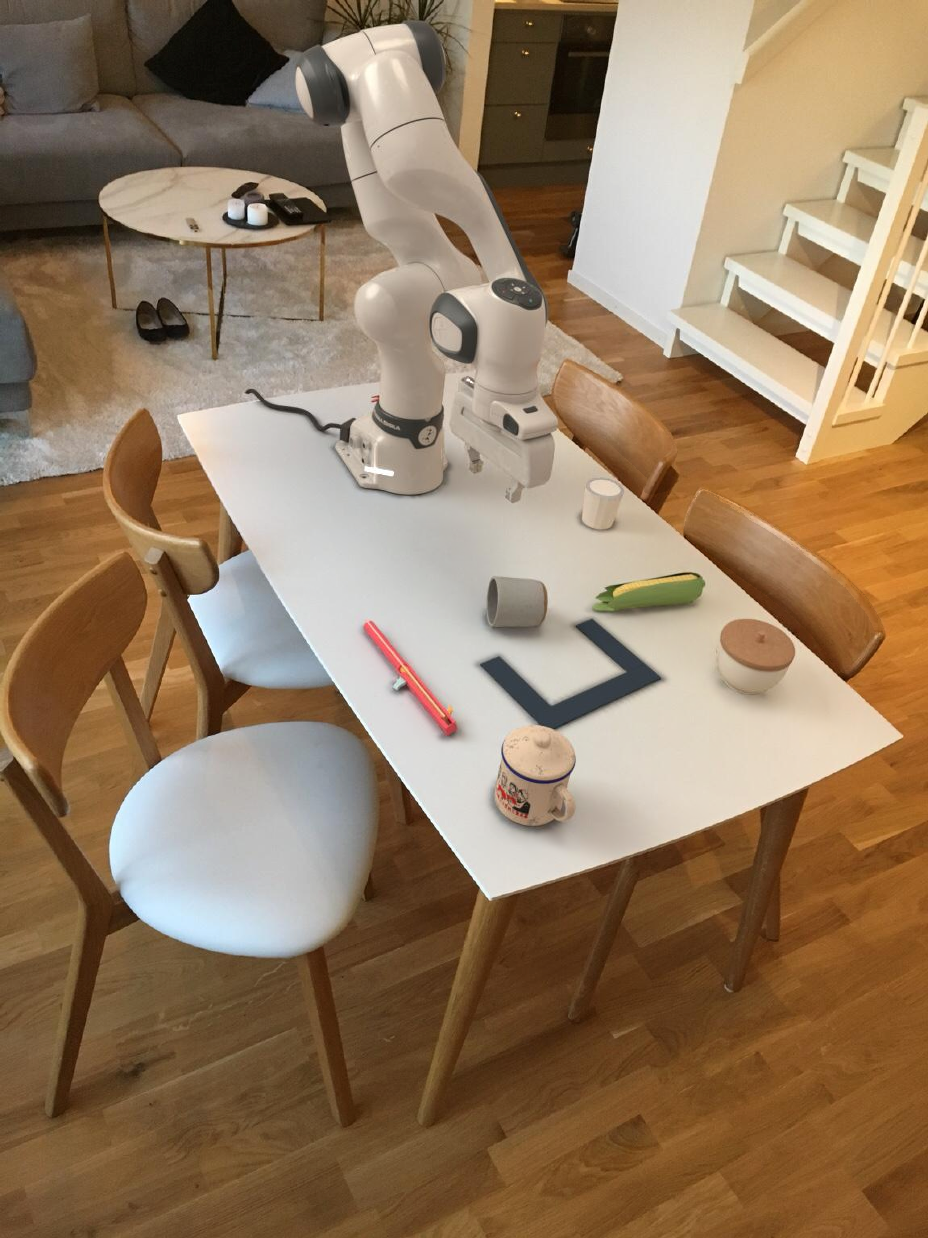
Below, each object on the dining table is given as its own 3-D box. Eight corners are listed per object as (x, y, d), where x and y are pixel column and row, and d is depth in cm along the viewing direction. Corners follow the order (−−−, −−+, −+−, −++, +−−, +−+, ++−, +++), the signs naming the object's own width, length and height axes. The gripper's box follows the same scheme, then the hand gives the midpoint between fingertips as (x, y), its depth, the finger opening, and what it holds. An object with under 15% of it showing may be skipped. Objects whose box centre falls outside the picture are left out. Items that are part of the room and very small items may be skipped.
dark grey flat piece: (480, 665, 145) (480, 663, 145) (591, 619, 156) (592, 618, 156) (547, 732, 136) (547, 730, 136) (661, 679, 147) (661, 677, 147)
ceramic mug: (544, 636, 152) (553, 596, 147) (491, 637, 150) (498, 596, 146) (529, 594, 160) (537, 554, 155) (479, 594, 158) (485, 554, 154)
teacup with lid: (478, 789, 127) (490, 724, 119) (534, 763, 131) (549, 700, 124) (535, 857, 119) (551, 792, 112) (592, 827, 124) (612, 763, 117)
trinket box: (709, 698, 145) (727, 649, 139) (705, 651, 154) (722, 603, 148) (782, 711, 145) (804, 663, 139) (775, 663, 153) (794, 616, 147)
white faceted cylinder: (574, 524, 177) (581, 491, 173) (583, 506, 182) (590, 473, 178) (611, 535, 176) (620, 501, 171) (619, 516, 181) (627, 483, 177)
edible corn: (707, 605, 163) (714, 583, 160) (597, 620, 156) (603, 598, 154) (691, 586, 167) (698, 564, 164) (584, 600, 160) (589, 578, 157)
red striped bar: (436, 744, 133) (465, 726, 134) (433, 735, 131) (462, 717, 133) (352, 637, 148) (379, 622, 149) (349, 628, 146) (376, 612, 147)
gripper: (443, 374, 145) (436, 458, 154) (531, 435, 133) (518, 522, 141) (478, 367, 149) (469, 450, 157) (566, 425, 136) (552, 511, 145)
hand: (493, 485), depth 149 cm, fingers open, 8 cm apart
